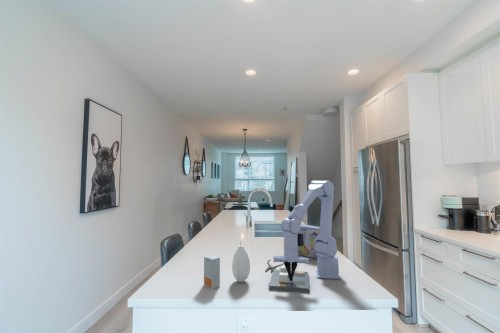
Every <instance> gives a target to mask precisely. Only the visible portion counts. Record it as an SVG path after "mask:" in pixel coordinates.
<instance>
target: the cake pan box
mask: <svg viewBox="0 0 500 333" xmlns="http://www.w3.org/2000/svg"><path fill="white" fill-rule="evenodd" d="M319 233H320V226H316V225H315V226H314V225H309V224H302V223H301V228H300V230H299V231H298V232H297V239H298V255H300V256H305V257H306V258H312V259H315V260H317V255H316V252H315V251H314V249H313V245H314V242H315V237H316V236H318V235H319Z"/></svg>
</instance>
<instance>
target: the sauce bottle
mask: <svg viewBox="0 0 500 333" xmlns="http://www.w3.org/2000/svg"><path fill="white" fill-rule="evenodd" d="M231 269H232V274H233V275H232V276H233V278H235V280H236V281H237V282H239V283H244V282H245V281H246V280H247V279H248V278H249V275H250V272H251V262H250V257H249V254H248V252H247V250H246V248H245V246H244V245H242V242H240V244H239V245H238V246H237V249H236V250H235V252H234V254H233V258H232V263H231Z"/></svg>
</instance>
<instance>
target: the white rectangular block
mask: <svg viewBox="0 0 500 333" xmlns="http://www.w3.org/2000/svg"><path fill="white" fill-rule="evenodd" d="M279 282H284V283H288V273H282V272H280V274H279Z"/></svg>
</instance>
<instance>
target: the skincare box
mask: <svg viewBox="0 0 500 333" xmlns="http://www.w3.org/2000/svg"><path fill="white" fill-rule="evenodd" d="M203 285H204V286H205V287H208V288H209V289H211V290H214V289H216V288H219V287H220V286H221V258H220V257H219V256H216V255H212V254H210V255H205V256H204V257H203Z"/></svg>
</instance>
